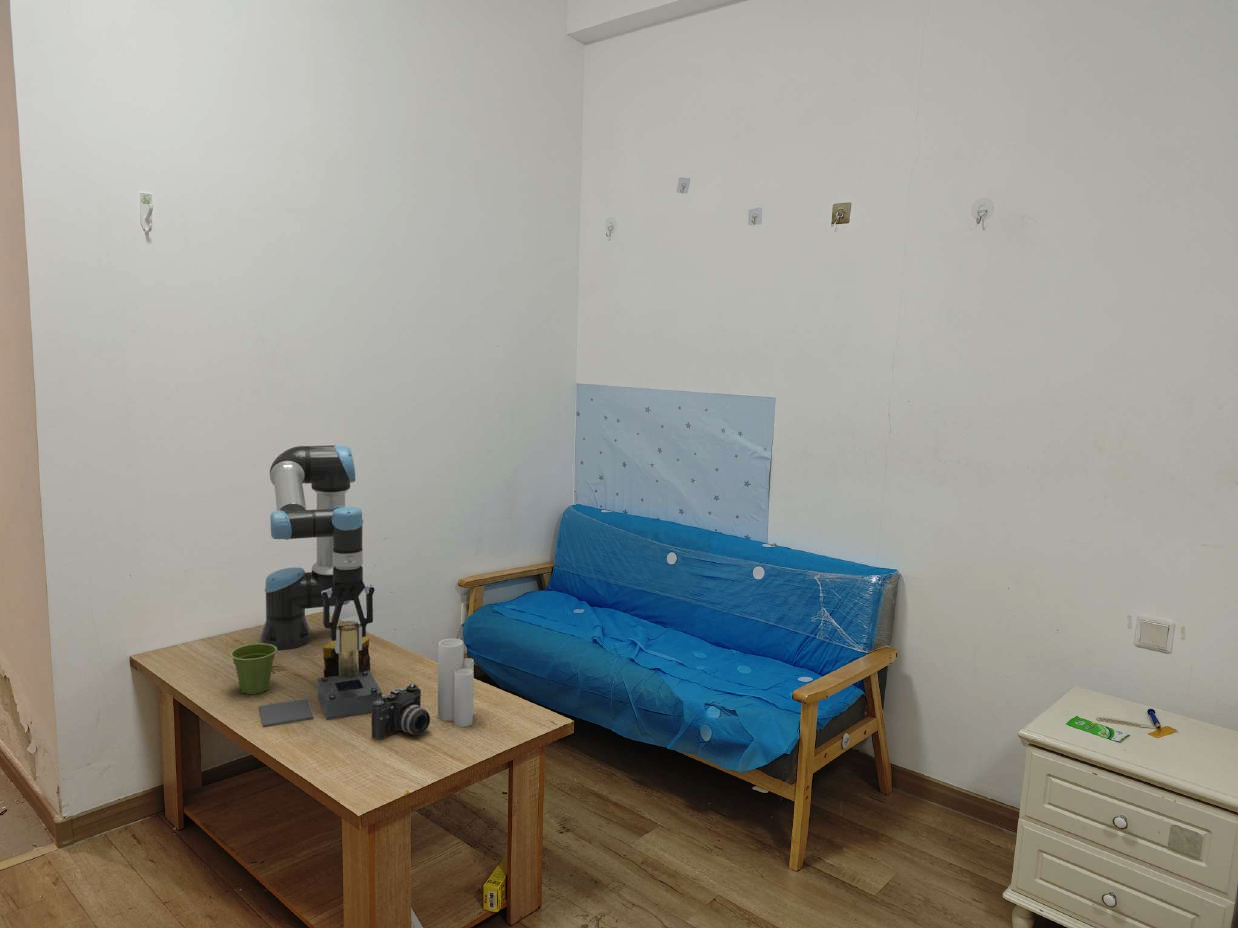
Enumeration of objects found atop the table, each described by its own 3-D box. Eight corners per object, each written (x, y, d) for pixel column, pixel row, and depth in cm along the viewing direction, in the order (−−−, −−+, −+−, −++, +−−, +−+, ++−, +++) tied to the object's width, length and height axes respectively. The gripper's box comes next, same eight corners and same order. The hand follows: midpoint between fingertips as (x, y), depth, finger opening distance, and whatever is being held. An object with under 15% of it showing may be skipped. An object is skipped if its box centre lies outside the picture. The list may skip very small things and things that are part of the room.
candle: (371, 669, 245) (370, 637, 244) (357, 682, 236) (356, 649, 234) (338, 667, 246) (337, 635, 245) (322, 680, 236) (322, 647, 235)
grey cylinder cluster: (432, 716, 216) (432, 643, 213) (451, 707, 222) (451, 636, 219) (464, 728, 210) (465, 653, 207) (483, 718, 216) (484, 645, 213)
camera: (397, 748, 198) (397, 709, 197) (367, 736, 204) (366, 698, 203) (440, 727, 210) (440, 690, 209) (410, 715, 216) (410, 679, 215)
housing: (317, 695, 226) (317, 676, 225) (369, 687, 232) (369, 668, 232) (326, 719, 212) (326, 699, 211) (382, 710, 218) (382, 690, 218)
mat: (258, 708, 217) (258, 705, 217) (307, 700, 223) (307, 698, 223) (263, 727, 207) (263, 724, 206) (313, 718, 212) (313, 716, 212)
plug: (337, 671, 223) (336, 622, 220) (356, 668, 225) (356, 619, 223) (340, 678, 218) (340, 628, 216) (360, 675, 221) (360, 625, 218)
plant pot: (224, 688, 228) (222, 650, 226) (266, 677, 237) (265, 640, 235) (242, 702, 220) (241, 662, 218) (285, 690, 229) (284, 651, 227)
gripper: (313, 573, 210) (314, 659, 213) (385, 566, 218) (385, 650, 222) (309, 565, 216) (310, 649, 220) (379, 559, 225) (379, 640, 228)
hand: (348, 649), depth 221 cm, fingers closed on plug, 5 cm apart
